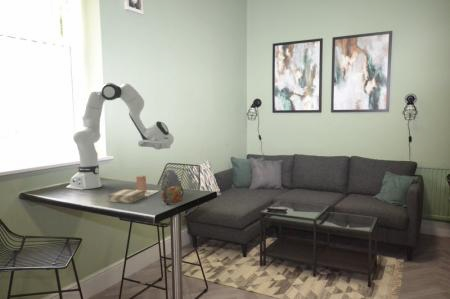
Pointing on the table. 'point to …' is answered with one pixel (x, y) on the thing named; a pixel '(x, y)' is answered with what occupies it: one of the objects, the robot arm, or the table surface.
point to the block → (141, 182)
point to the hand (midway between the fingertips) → (147, 145)
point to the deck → (127, 196)
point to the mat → (150, 192)
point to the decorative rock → (170, 180)
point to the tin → (172, 194)
